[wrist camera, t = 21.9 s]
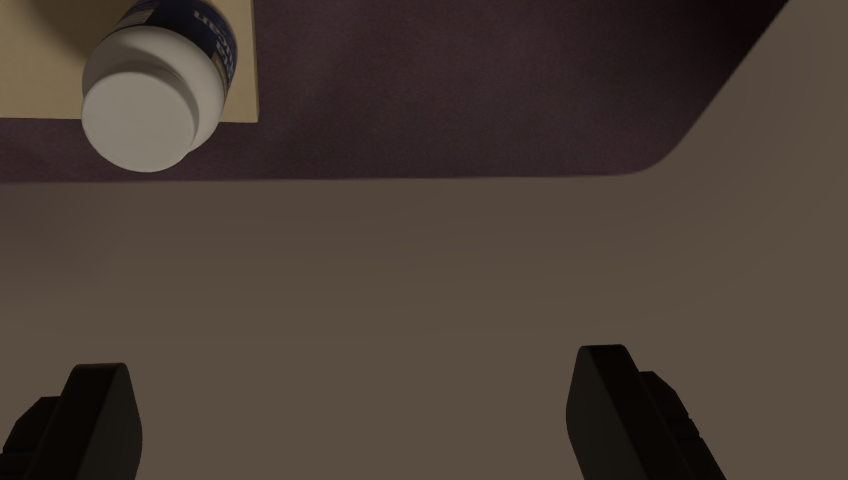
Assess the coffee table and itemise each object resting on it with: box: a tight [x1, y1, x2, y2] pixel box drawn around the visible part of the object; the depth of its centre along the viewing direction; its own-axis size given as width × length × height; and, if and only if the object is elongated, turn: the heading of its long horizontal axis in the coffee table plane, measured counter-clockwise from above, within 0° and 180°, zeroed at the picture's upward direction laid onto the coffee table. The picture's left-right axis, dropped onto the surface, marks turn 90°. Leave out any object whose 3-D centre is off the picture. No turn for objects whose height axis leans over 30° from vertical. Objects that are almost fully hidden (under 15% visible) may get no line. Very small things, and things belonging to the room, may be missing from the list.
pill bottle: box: [81, 0, 238, 172], centre depth 30 cm, size 5×5×10 cm
